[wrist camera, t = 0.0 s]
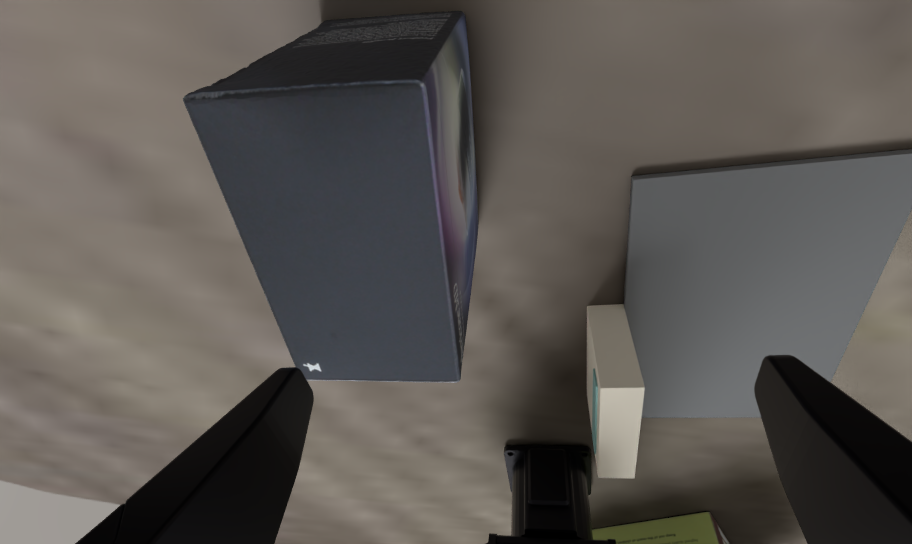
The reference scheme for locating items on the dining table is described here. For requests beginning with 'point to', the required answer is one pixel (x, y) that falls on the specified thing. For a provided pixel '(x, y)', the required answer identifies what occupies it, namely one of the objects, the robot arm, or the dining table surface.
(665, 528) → the protein box
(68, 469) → the dining table surface
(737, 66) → the dining table surface
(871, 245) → the rubber mat
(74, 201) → the dining table surface
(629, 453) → the cream slab
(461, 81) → the small box
